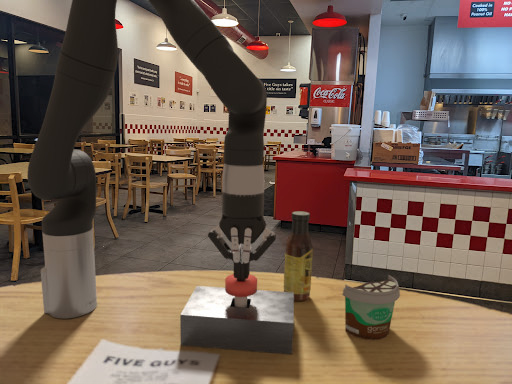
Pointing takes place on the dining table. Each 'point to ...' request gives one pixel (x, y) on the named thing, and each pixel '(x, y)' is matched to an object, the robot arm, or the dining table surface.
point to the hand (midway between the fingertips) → (241, 279)
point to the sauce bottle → (298, 258)
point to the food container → (370, 308)
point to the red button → (240, 289)
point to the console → (238, 321)
